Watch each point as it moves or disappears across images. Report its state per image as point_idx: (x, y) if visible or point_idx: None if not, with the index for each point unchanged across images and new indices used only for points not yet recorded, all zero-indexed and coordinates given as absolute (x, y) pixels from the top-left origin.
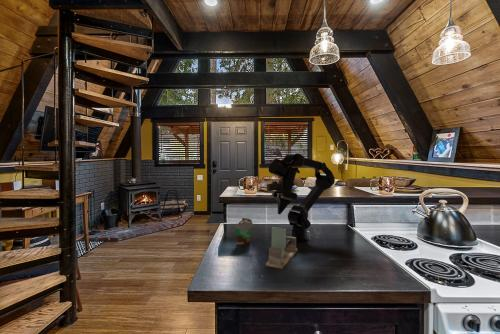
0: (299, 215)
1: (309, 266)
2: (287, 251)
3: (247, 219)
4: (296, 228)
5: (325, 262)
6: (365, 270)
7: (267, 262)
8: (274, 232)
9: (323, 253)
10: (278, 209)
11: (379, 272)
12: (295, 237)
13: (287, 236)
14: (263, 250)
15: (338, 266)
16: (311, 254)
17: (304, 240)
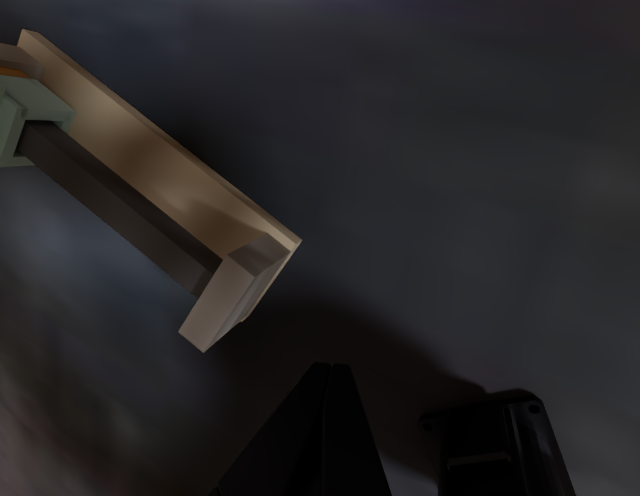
0: None
1: (40, 270)
2: (189, 231)
3: None
4: (452, 492)
5: (83, 368)
6: (16, 461)
7: (27, 40)
8: None
9: (193, 432)
10: (297, 422)
11: (4, 491)
12: (199, 345)
13: (231, 293)
14: (286, 71)
15: (45, 393)
16: (183, 363)
17: (436, 468)
